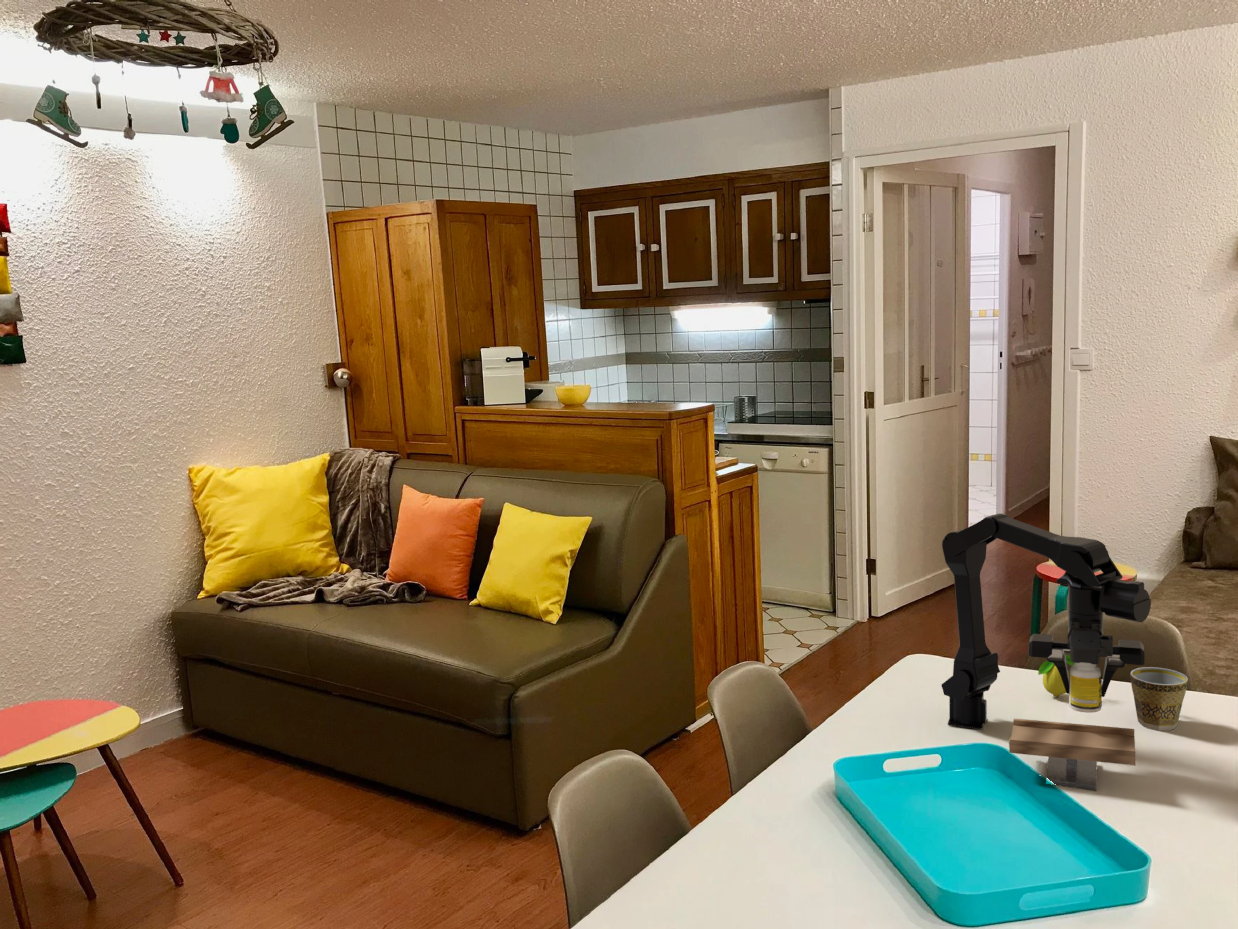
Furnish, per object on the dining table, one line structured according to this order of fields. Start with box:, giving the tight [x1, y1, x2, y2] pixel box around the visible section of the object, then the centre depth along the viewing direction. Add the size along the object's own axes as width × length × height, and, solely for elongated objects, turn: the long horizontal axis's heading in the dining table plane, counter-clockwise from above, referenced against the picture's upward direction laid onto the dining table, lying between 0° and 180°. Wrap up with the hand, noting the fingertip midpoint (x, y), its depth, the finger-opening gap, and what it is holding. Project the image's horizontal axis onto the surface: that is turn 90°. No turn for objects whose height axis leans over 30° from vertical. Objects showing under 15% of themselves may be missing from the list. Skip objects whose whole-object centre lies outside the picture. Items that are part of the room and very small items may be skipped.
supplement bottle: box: [1068, 662, 1103, 714], centre depth 185 cm, size 5×5×10 cm
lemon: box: [1037, 654, 1075, 698], centre depth 217 cm, size 7×6×10 cm
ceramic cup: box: [1129, 666, 1189, 732], centre depth 202 cm, size 13×10×10 cm
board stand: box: [1045, 757, 1098, 792], centre depth 182 cm, size 8×11×4 cm
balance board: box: [1008, 717, 1137, 767], centre depth 182 cm, size 20×10×2 cm, turn 65°
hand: (1085, 694), depth 185 cm, fingers closed on supplement bottle, 5 cm apart
